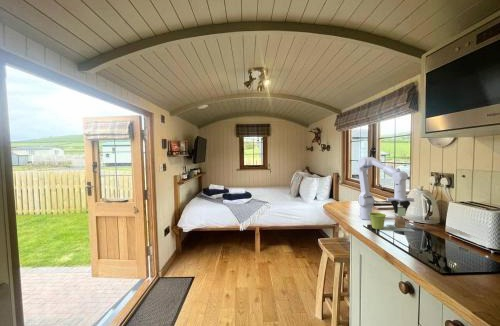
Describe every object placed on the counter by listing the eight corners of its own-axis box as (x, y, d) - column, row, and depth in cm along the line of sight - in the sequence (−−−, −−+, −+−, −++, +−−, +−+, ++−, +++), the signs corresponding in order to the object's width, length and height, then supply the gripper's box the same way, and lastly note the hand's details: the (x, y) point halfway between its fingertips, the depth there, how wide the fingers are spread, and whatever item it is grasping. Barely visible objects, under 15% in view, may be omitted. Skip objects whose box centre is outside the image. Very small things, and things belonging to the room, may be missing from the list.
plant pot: (365, 227, 140) (365, 213, 140) (375, 225, 144) (375, 211, 144) (379, 231, 132) (379, 217, 131) (389, 229, 136) (389, 215, 135)
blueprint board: (386, 225, 143) (386, 224, 142) (405, 226, 140) (405, 225, 140) (394, 231, 132) (394, 229, 132) (414, 231, 130) (414, 230, 129)
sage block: (395, 214, 139) (395, 206, 138) (402, 214, 138) (402, 206, 138) (398, 216, 135) (398, 208, 134) (405, 216, 134) (405, 208, 134)
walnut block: (394, 226, 139) (394, 218, 138) (402, 226, 138) (401, 218, 138) (397, 228, 135) (397, 220, 134) (405, 228, 134) (405, 220, 134)
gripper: (389, 192, 133) (390, 214, 134) (417, 192, 130) (417, 215, 131) (385, 190, 140) (385, 211, 141) (410, 190, 137) (411, 212, 138)
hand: (400, 213), depth 136 cm, fingers closed on sage block, 4 cm apart
